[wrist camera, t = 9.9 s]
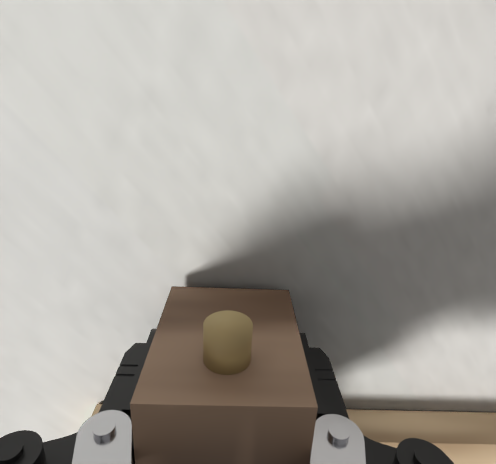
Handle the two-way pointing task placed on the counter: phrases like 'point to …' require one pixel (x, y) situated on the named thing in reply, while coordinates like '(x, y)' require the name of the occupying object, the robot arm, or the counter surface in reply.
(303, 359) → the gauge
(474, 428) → the board
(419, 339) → the counter surface
